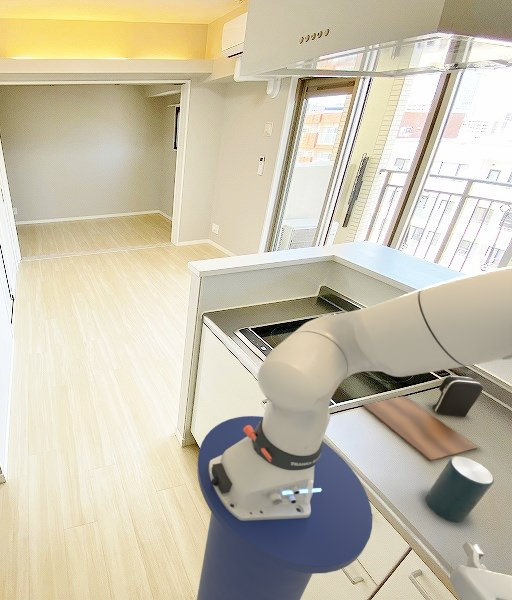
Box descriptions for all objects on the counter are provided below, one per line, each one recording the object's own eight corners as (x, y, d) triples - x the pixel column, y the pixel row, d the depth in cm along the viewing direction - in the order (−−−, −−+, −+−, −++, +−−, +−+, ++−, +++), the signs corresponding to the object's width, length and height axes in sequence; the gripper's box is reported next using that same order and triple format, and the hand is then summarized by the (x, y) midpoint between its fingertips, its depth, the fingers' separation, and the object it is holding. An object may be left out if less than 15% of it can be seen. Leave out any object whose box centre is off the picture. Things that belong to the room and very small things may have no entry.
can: (449, 526, 65) (478, 488, 59) (417, 496, 70) (442, 459, 65) (472, 518, 66) (503, 480, 60) (440, 490, 71) (466, 452, 66)
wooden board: (429, 461, 77) (430, 459, 77) (362, 406, 93) (363, 404, 93) (476, 448, 80) (477, 447, 79) (403, 397, 95) (404, 395, 95)
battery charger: (456, 407, 91) (476, 375, 86) (466, 418, 88) (487, 385, 83) (427, 404, 93) (444, 372, 87) (435, 414, 89) (454, 382, 84)
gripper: (713, 686, 40) (595, 557, 51) (503, 634, 44) (439, 527, 56) (673, 703, 43) (571, 577, 54) (480, 652, 47) (425, 546, 59)
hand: (503, 551), depth 55 cm, fingers open, 8 cm apart
